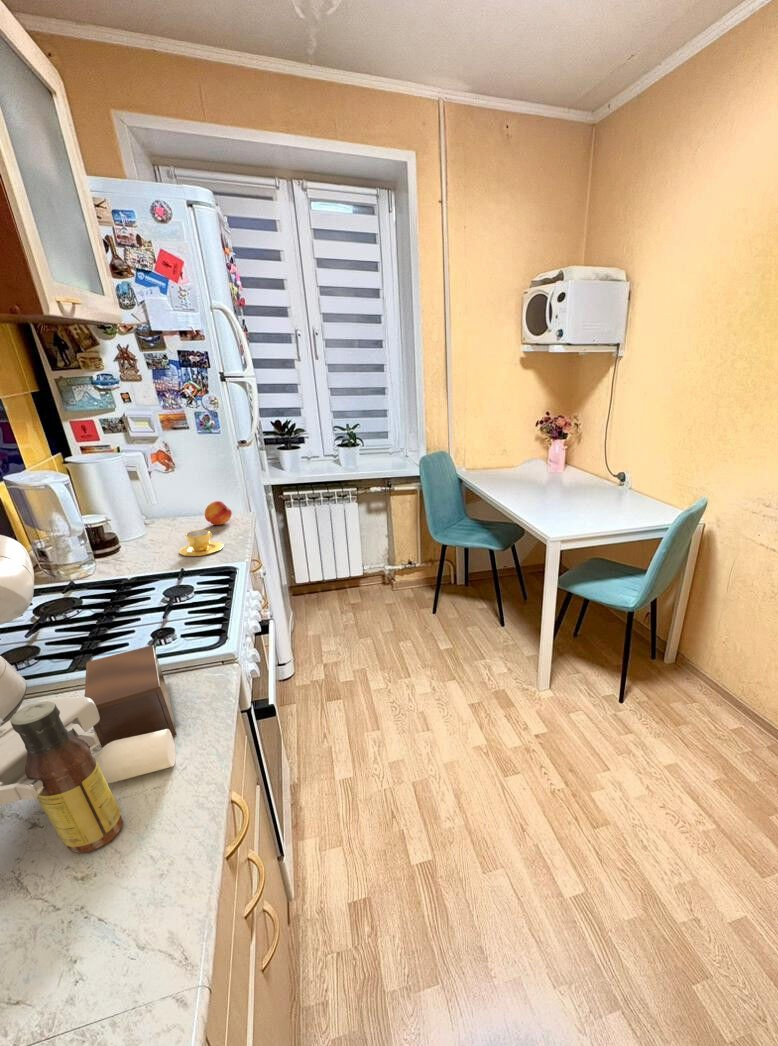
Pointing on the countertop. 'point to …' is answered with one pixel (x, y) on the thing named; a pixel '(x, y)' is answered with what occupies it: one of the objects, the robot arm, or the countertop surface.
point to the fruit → (217, 513)
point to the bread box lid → (122, 677)
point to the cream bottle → (136, 755)
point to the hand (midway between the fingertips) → (67, 765)
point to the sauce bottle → (67, 779)
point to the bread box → (136, 716)
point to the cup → (200, 543)
